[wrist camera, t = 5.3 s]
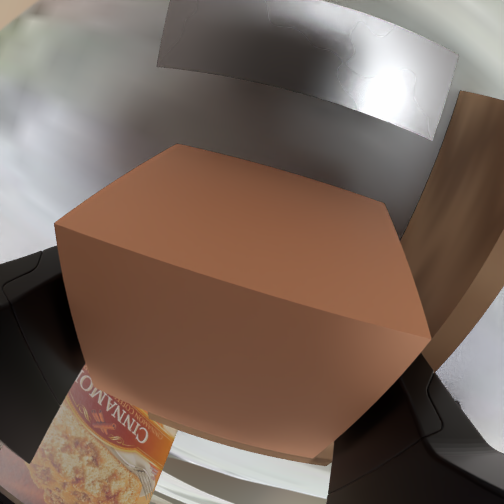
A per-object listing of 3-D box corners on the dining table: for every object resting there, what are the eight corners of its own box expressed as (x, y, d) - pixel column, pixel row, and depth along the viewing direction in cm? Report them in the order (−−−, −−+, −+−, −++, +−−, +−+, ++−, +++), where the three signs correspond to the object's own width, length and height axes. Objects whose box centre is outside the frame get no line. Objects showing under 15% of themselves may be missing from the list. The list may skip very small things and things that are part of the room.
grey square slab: (385, 111, 10) (432, 141, 6) (223, 66, 11) (156, 66, 6) (400, 60, 9) (459, 55, 5) (235, 16, 9) (174, -18, 5)
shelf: (332, 386, 20) (326, 466, 15) (183, 344, 20) (148, 418, 15) (482, 103, 9) (574, 138, 4) (236, 17, 10) (169, -21, 5)
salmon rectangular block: (324, 328, 11) (313, 458, 7) (164, 278, 11) (94, 387, 7) (384, 203, 8) (431, 339, 4) (177, 143, 8) (54, 223, 4)
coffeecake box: (189, 409, 25) (118, 595, 9) (135, 406, 28) (64, 560, 12) (80, 278, 19) (-78, 507, 3) (37, 294, 22) (-88, 466, 6)
